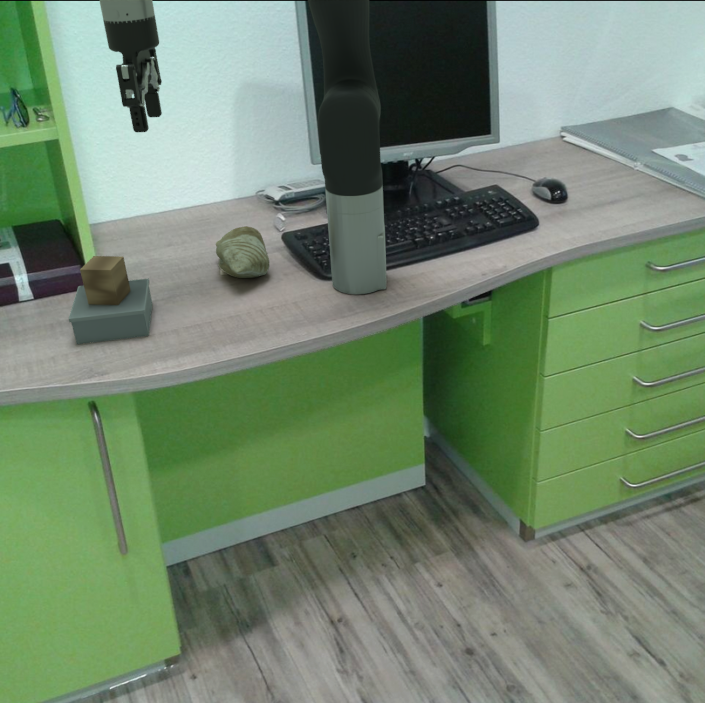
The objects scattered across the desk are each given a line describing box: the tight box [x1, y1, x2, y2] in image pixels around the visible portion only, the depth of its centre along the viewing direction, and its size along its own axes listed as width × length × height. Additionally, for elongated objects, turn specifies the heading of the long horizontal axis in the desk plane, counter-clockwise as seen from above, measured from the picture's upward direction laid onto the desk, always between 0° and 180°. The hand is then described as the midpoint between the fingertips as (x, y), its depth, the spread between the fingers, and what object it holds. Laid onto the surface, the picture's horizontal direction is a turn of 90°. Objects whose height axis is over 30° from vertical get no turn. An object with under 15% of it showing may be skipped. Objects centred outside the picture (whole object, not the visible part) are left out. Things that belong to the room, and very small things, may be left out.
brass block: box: [79, 255, 131, 305], centre depth 130 cm, size 5×5×6 cm
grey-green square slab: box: [68, 278, 153, 345], centre depth 133 cm, size 11×11×5 cm
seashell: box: [215, 226, 270, 279], centre depth 146 cm, size 14×9×10 cm
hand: (148, 123), depth 131 cm, fingers open, 8 cm apart
